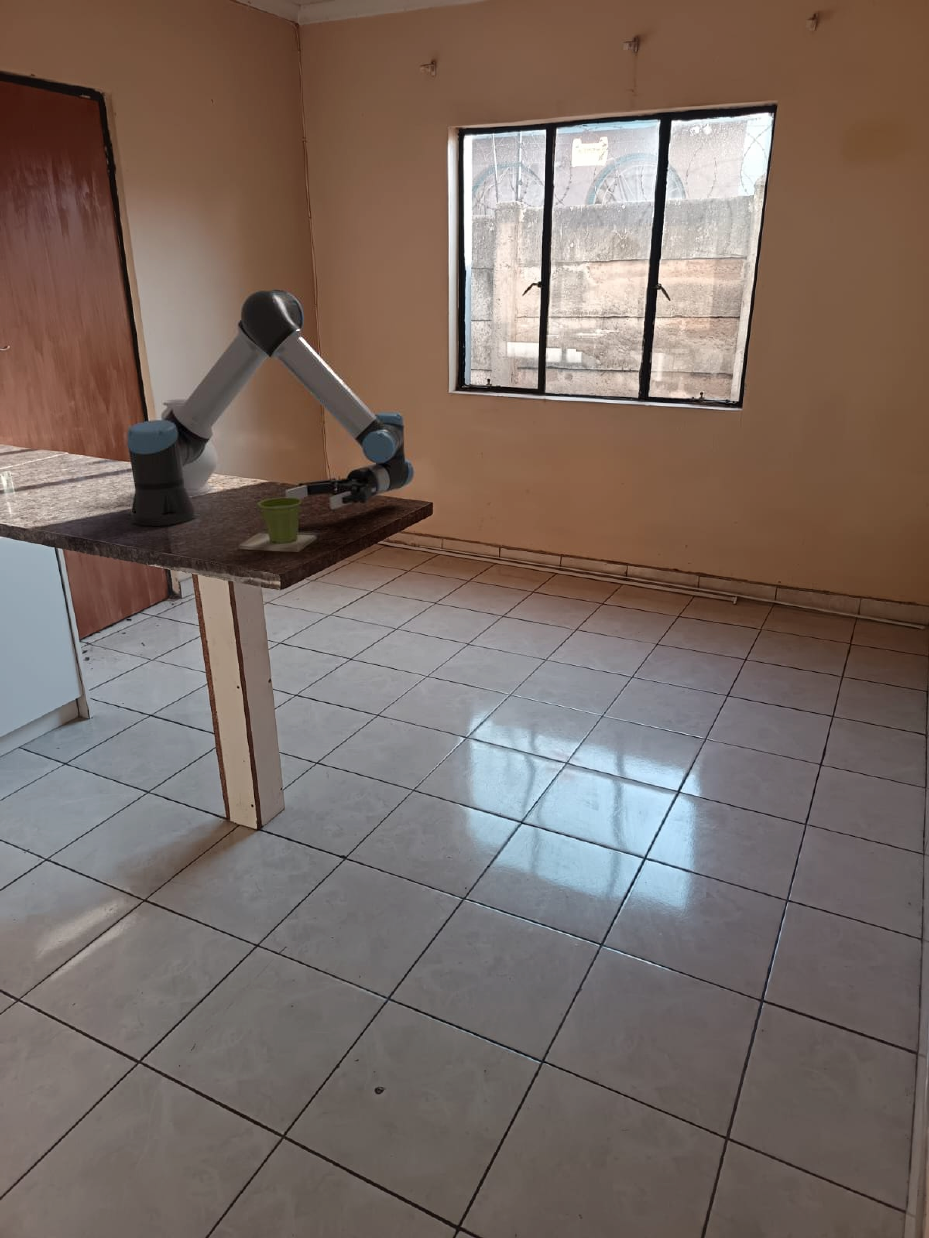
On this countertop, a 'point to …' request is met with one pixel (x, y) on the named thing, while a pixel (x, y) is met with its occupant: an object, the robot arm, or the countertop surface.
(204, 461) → the decorative vase
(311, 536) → the board
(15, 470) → the countertop surface
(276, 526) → the plant pot
